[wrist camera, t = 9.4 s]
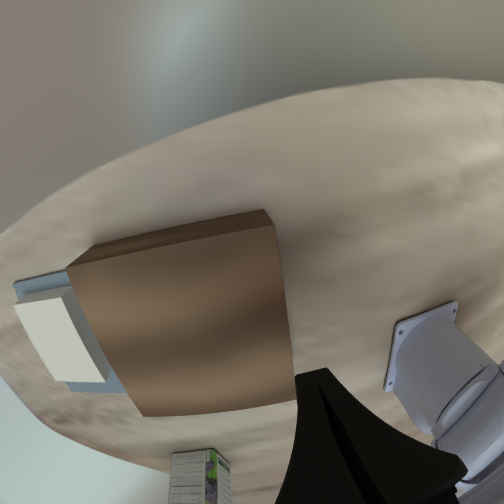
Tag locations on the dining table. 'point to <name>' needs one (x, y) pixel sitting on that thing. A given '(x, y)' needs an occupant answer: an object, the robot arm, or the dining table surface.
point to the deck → (192, 315)
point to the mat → (59, 281)
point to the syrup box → (199, 478)
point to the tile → (63, 335)
